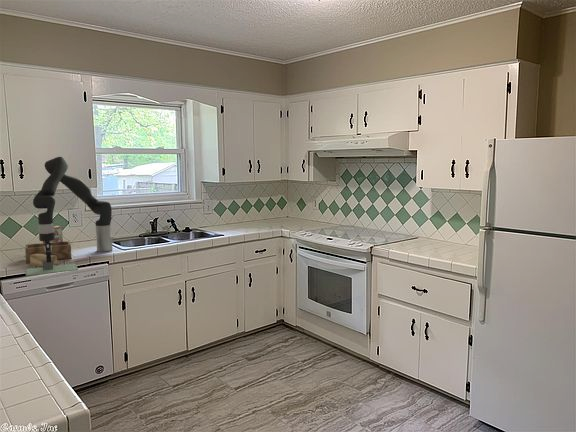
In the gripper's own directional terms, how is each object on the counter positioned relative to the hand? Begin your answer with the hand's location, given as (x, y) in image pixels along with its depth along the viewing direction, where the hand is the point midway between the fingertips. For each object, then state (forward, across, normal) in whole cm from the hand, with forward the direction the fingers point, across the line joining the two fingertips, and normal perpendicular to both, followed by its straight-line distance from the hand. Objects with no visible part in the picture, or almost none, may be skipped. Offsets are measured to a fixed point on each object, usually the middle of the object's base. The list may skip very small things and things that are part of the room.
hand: (48, 260), depth 248 cm
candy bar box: (+6, -55, +4) cm, 56 cm away
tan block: (+6, -14, -3) cm, 16 cm away
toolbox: (+5, -30, 0) cm, 31 cm away
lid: (+6, +1, +1) cm, 6 cm away
